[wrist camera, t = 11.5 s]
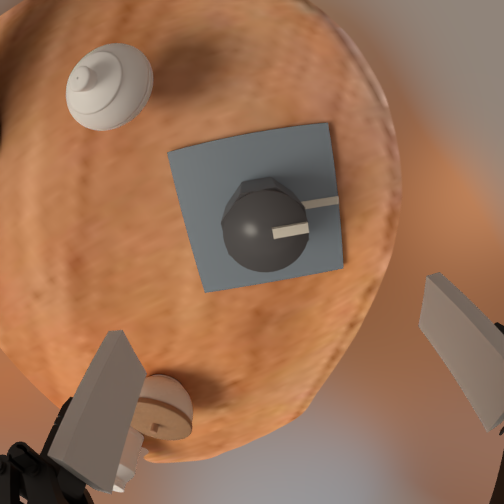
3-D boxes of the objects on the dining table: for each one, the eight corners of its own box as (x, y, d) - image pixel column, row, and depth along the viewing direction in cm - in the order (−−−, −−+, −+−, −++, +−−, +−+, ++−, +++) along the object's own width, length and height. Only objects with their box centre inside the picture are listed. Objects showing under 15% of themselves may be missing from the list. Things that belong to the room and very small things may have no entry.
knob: (236, 248, 30) (232, 281, 23) (222, 185, 27) (213, 201, 21) (300, 237, 29) (314, 266, 23) (290, 173, 27) (303, 184, 20)
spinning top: (188, 79, 24) (149, 45, 12) (149, 142, 26) (90, 150, 15) (131, 53, 22) (72, 19, 11) (96, 113, 24) (25, 111, 13)
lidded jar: (130, 357, 38) (111, 403, 29) (199, 371, 38) (190, 422, 30) (137, 397, 42) (124, 438, 33) (196, 409, 43) (190, 453, 34)
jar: (109, 414, 45) (88, 471, 31) (148, 434, 47) (135, 491, 34) (96, 428, 48) (78, 476, 34) (130, 446, 51) (118, 494, 37)
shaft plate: (169, 151, 26) (150, 156, 21) (325, 122, 25) (344, 120, 20) (206, 288, 33) (198, 318, 27) (340, 264, 32) (357, 290, 26)
